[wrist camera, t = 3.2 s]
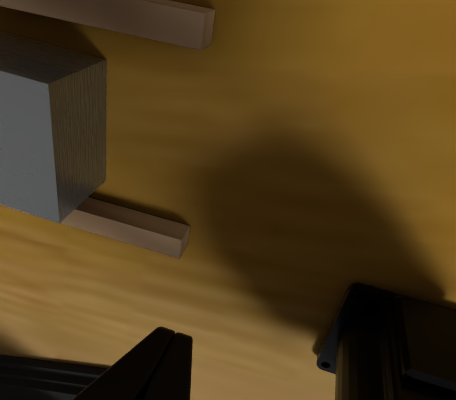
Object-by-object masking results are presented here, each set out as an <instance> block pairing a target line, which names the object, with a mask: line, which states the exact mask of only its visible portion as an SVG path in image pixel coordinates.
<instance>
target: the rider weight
mask: <svg viewBox="0 0 456 400" xmlns="http://www.w3.org/2000/svg"><path fill="white" fill-rule="evenodd" d="M106 74H107V59H103V58H99V57H96V56H92V55H88V54H85V53H81V52H77V51H73V50H70V49H66V48H62V47H59V46H55V45H51V44H47V43H44V42H40V41H36V40H33V39H29V38H25V37H22V36H18V35H14V34H10V33H7V32H3V31H0V204H2V205H5V206H8V207H11V208H14V209H17V210H20V211H23V212H26V213H29V214H32V215H35V216H38V217H41V218H45V219H48V220H51V221H54V222H57V223H60V222H62V221H63V220H64V219H65V218H66V217H67V216H68V215H69V214H70V213H71V212H72V211H73V210H75V209H76V208H77V207H78V206H79V205H80V204H81V203H82V202H83V201H84V200H85V199H86V198H88V197H89V196H90V195H91V194H92V193H93V192H94V191H95V190H96V189H97V188H98V187H99V186H101V185H102V184H103V183H104V182H105V181H106Z"/></svg>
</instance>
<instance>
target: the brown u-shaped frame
mask: <svg viewBox="0 0 456 400" xmlns="http://www.w3.org/2000/svg"><path fill="white" fill-rule="evenodd" d="M0 6H2V7H6V8H11V9H15V10H20V11H25V12H29V13H34V14H38V15H43V16H47V17H52V18H56V19H61V20H65V21H70V22H74V23H79V24H84V25H88V26H93V27H97V28H102V29H106V30H111V31H115V32H120V33H124V34H129V35H133V36H138V37H143V38H147V39H152V40H156V41H161V42H165V43H170V44H174V45H179V46H183V47H188V48H192V49H197V50H203V49H204V48H206V47H208V46H209V45H211V42H212V33H213V24H214V16H215V9H210V8H205V7H200V6H195V5H190V4H185V3H181V2H176V1H171V0H0ZM0 205H1V206H4V207H7V208H11V207H8V206H5V205H2V204H0ZM11 209H14V208H11ZM14 210H17V209H14ZM17 211H20V210H17ZM21 212H23V211H21ZM24 213H26V212H24ZM27 214H29V213H27ZM31 215H32V214H31ZM34 216H35V215H34ZM44 219H45V218H44ZM60 223H61V224H64V225H68V226H71V227H75V228H78V229H81V230H85V231H88V232H91V233H95V234H98V235H101V236H105V237H108V238H112V239H115V240H118V241H122V242H125V243H128V244H132V245H135V246H138V247H142V248H145V249H149V250H152V251H155V252H159V253H162V254H165V255H169V256H172V257H175V258H179V259H180V257H181V256H182V254H183V252H184V250H185V248H186V247H187V245H188V239H189V231H190V226H188V225H184V224H181V223H177V222H174V221H170V220H167V219H163V218H160V217H156V216H153V215H149V214H146V213H142V212H139V211H135V210H132V209H128V208H125V207H121V206H118V205H114V204H111V203H107V202H104V201H100V200H97V199H93V198H90V197H88V198H86V199H85V200H84V201H83V202H82V203H81V204H80V205H79V206H78V207H77V208H76V209H75V210H73V211H72V212H71V213H70V214H69V215H68V216H67V217H66V218H65V219H64V220H63V221H62V222H60Z"/></svg>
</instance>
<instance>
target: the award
mask: <svg viewBox="0 0 456 400" xmlns="http://www.w3.org/2000/svg"><path fill="white" fill-rule="evenodd" d="M106 370H107V369H103V368H95V367H87V366H80V365H72V364H64V363H56V362H48V361H40V360H33V359H25V358H17V357H9V356H1V355H0V400H72V399H73V398H74V397H75V396H77V395H78V394H79V393H80V392H81V391H83V390H84V389H85V388H86V387H87V386H88V385H90V384H91V383H92V382H93V381H94V380H96V379H97V378H98V377H99V376H100V375H102V374H103V373H104V372H105V371H106Z"/></svg>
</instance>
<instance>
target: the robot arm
mask: <svg viewBox="0 0 456 400" xmlns="http://www.w3.org/2000/svg"><path fill="white" fill-rule="evenodd" d="M356 293H361V294H362V295H356ZM192 344H193V339H192V337H191V336H189V335H186V334H183V333H179V332H178V333H176V334H175V331H173V330H170V329H167V328H164V327H158V328H156V329H155V330H154V331H153V332H151V333H150V334H149V335H148V336H147V337H146V338H144V339H143V340H142V341H141V342H140V343H138V344H137V345H136V346H135V347H134V348H132V349H131V350H130V351H129V352H128V353H126V354H125V355H124V356H123V357H122V358H121V359H119V360H118V361H117V362H116V363H115V364H113V365H112V366H111V367H110V368H109V369H107V370H106V371H105V372H104V373H103V374H102V375H100V376H99V377H98V378H97V379H96V380H94V381H93V382H92V383H91V384H90V385H88V386H87V387H86V388H85V389H84V390H83V391H81V392H80V393H79V394H78V395H77V396H75V397H74V398H73V399H72V400H190V389H191V366H192ZM317 366H318V367H319V368H320V369H322V370H324V371H327V372H330V373H334V374H336V386H335V400H456V311H455V310H452V309H448V308H445V307H441V306H438V305H434V304H431V303H427V302H424V301H420V300H417V299H413V298H410V297H406V296H403V295H399V294H396V293H392V292H389V291H385V290H382V289H379V288H375V287H372V286H368V285H365V284H360V283H356V284H352V285H350V286H349V288H348V290H347V292H346V294H345V296H344V298H343V301H342V303H341V305H340V307H339V309H338V312H337V314H336V316H335V318H334V320H333V323H332V325H331V327H330V329H329V331H328V334H327V336H326V338H325V340H324V342H323V345H322V347H321V349H320V351H319V353H318V355H317Z"/></svg>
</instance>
